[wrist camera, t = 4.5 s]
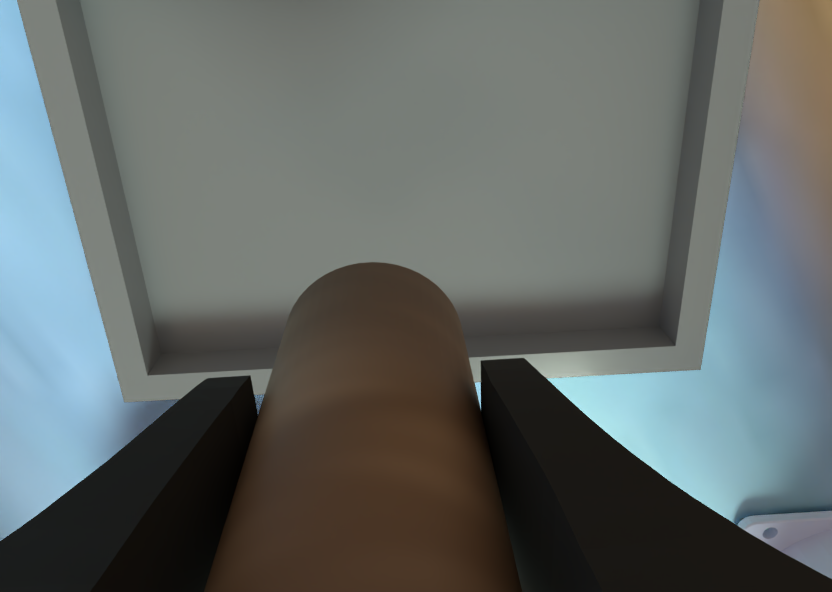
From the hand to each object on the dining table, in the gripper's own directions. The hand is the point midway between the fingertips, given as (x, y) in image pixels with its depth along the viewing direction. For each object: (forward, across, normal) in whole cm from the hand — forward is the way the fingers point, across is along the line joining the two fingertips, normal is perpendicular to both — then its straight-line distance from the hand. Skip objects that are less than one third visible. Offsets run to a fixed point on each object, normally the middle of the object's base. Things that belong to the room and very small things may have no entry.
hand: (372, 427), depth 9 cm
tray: (+10, -1, -1) cm, 10 cm away
